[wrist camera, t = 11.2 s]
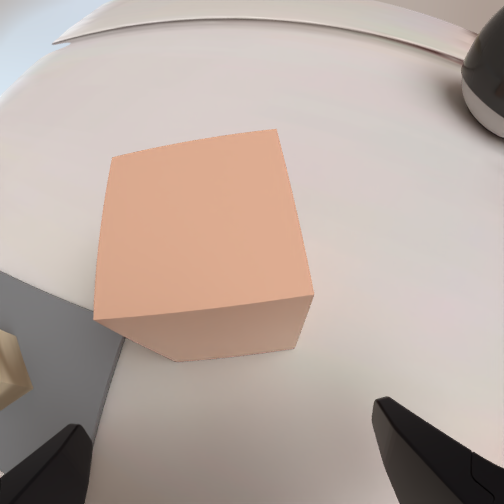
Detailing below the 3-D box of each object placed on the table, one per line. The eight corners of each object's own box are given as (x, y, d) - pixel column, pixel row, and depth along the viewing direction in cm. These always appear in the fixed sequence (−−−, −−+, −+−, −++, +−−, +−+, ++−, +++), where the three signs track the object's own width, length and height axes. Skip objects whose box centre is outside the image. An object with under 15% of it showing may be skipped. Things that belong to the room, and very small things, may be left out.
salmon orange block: (294, 348, 17) (314, 294, 9) (176, 361, 17) (93, 319, 9) (276, 242, 20) (276, 128, 11) (171, 256, 20) (112, 157, 12)
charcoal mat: (76, 522, 12) (73, 524, 12) (-47, 420, 14) (-50, 419, 14) (129, 325, 18) (126, 323, 17) (-4, 269, 20) (-7, 267, 20)
